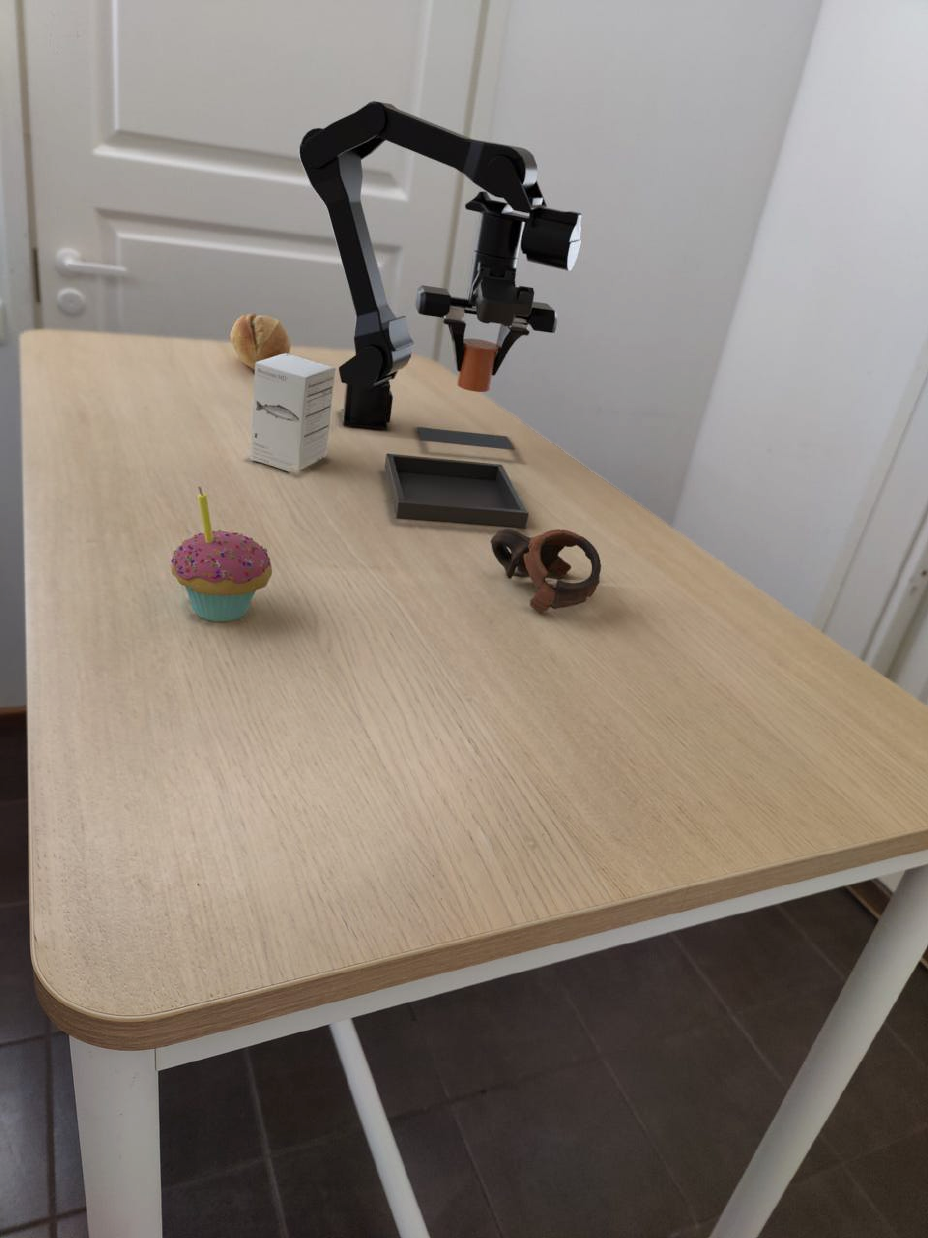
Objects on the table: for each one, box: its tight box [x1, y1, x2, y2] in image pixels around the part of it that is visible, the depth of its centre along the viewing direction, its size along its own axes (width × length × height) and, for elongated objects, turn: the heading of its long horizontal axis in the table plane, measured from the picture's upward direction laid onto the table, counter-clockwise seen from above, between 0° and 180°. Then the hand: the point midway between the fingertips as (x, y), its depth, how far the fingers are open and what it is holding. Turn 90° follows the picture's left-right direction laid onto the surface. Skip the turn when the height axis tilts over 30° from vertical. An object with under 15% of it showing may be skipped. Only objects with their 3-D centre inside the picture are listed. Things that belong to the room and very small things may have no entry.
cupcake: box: [171, 485, 273, 623], centre depth 77 cm, size 9×8×12 cm
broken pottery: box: [490, 528, 602, 614], centre depth 91 cm, size 12×10×8 cm
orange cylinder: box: [456, 338, 499, 393], centre depth 122 cm, size 5×5×6 cm
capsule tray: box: [384, 453, 529, 530], centre depth 110 cm, size 16×16×3 cm
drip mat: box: [416, 426, 515, 451], centre depth 130 cm, size 14×10×1 cm
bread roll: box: [230, 313, 291, 371], centre depth 146 cm, size 10×15×8 cm, turn 19°
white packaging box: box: [249, 353, 337, 472], centre depth 110 cm, size 7×7×13 cm
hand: (475, 372), depth 122 cm, fingers closed on orange cylinder, 4 cm apart
